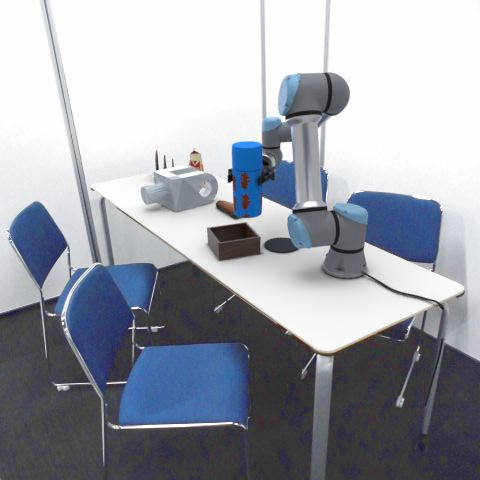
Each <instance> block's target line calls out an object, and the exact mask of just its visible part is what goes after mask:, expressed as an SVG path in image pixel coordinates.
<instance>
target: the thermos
mask: <svg viewBox="0 0 480 480" xmlns="http://www.w3.org/2000/svg"><path fill="white" fill-rule="evenodd" d="M262 151H263V149H262V142H259V141H252V140H243V141H237V142H233V143H232V144H231V168H232V178H233V181H232V203H233V207H234V214H235V215H236V216H237V217H241V218H240V219H252V218H258V217H260V216H261V215H262V212H263V184H262V185H260V186H258V178H259V177H260V176H261V175H262Z"/></svg>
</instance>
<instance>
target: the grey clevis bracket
mask: <svg viewBox="0 0 480 480" xmlns="http://www.w3.org/2000/svg"><path fill="white" fill-rule="evenodd" d="M153 180H154V183H153V184H149V185H144V186H141V187H140V196H141V200H142V202H143V203H144V204H145V205H146V206H149V205H154V204H157V203H158V204H160V205H161V206H164V207H165V208H168V209H170V210H171V211H173V212H175V213H177V212H181V211H185V210H190V209H193V208H196V207H202V206H205V205H209V204H210V203H212V202H213V201H214V200H215V198H216V196H217V195H218V191H219V183H218V180H217V178H216V177H215V175H213V174H212V173H210V172H208V171H205V170H204V171H199V170H198V169H197V168H195V167H192V166H189V164H182V165H177V166H174V167H172V166H171V167H168V168H167V169H159V170H157V171H156V170H153ZM204 181H205V184H206V185H205V187H204V188H205V189H204V190H203V191H202V188H203V187H202V186H203V182H204ZM201 191H202V192H201ZM200 192H201V193H200Z"/></svg>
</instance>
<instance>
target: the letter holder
mask: <svg viewBox="0 0 480 480" xmlns="http://www.w3.org/2000/svg"><path fill="white" fill-rule="evenodd" d="M154 157H155V158H154V160H155V161H154V162H155V163H154V164H155V171H157V170H160V167H159V154H158V150H157V149H156V150H155V155H154ZM166 158H167V157H166V155H165V154H163V169H167V160H166ZM172 167H175V162H174V158H172V159H171V168H172Z"/></svg>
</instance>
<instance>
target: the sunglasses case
mask: <svg viewBox="0 0 480 480" xmlns="http://www.w3.org/2000/svg"><path fill="white" fill-rule="evenodd" d="M215 208H217V209H220V210H222V211H223V212H225V213H226V214H228V215H230V216H231V217H233V218H234V219H235V220H237V219H242V218H241V217H237V216H236V215H235V214H234V207H233V202H230V201H227V200H222V199H221V200H220V199H219V200H217V201H216V202H215Z"/></svg>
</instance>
